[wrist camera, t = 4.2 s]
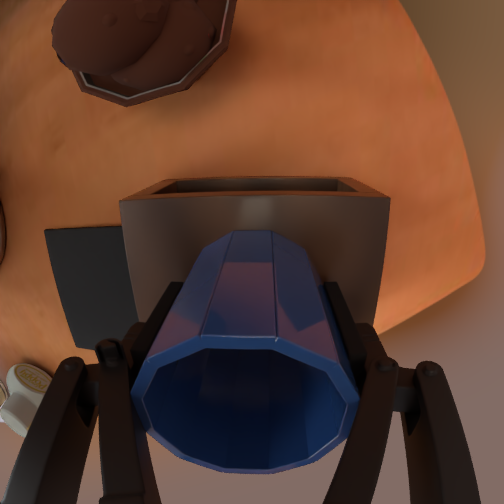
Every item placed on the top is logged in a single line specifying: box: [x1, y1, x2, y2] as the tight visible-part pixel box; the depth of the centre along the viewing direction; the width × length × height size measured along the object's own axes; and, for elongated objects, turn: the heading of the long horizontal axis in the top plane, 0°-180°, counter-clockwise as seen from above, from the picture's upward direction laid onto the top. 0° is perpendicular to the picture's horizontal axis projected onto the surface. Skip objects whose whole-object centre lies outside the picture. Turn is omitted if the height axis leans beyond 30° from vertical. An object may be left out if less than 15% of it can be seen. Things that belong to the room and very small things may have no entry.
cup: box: [130, 230, 360, 474], centre depth 14 cm, size 8×8×10 cm
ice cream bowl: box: [51, 0, 237, 107], centre depth 15 cm, size 11×11×15 cm
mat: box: [44, 226, 139, 350], centre depth 30 cm, size 13×15×1 cm
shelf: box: [119, 176, 390, 327], centre depth 23 cm, size 16×12×9 cm
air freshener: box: [0, 363, 52, 437], centre depth 32 cm, size 11×8×10 cm
